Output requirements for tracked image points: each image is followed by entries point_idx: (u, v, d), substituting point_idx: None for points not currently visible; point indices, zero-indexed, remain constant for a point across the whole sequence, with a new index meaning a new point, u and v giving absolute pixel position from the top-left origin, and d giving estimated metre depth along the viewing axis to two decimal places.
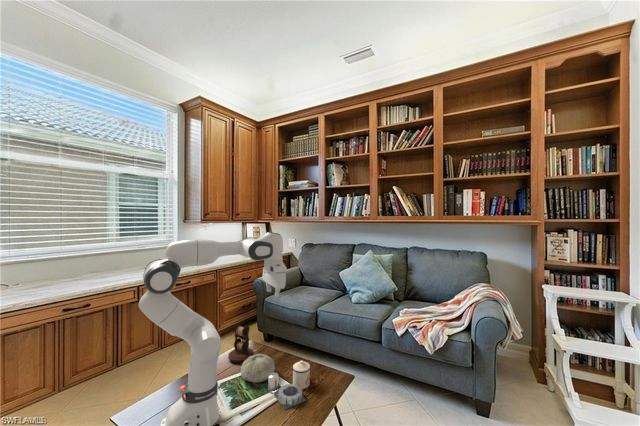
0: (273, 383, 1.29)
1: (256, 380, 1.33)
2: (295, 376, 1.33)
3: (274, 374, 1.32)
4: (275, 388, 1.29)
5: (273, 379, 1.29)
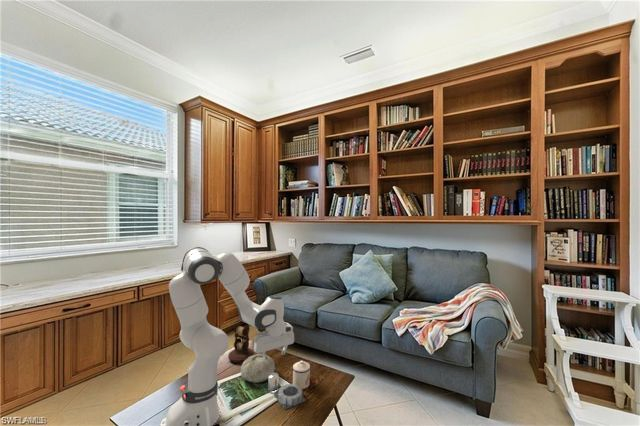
0: (273, 383, 1.29)
1: (256, 380, 1.33)
2: (295, 376, 1.33)
3: (274, 374, 1.32)
4: (275, 388, 1.29)
5: (273, 379, 1.29)
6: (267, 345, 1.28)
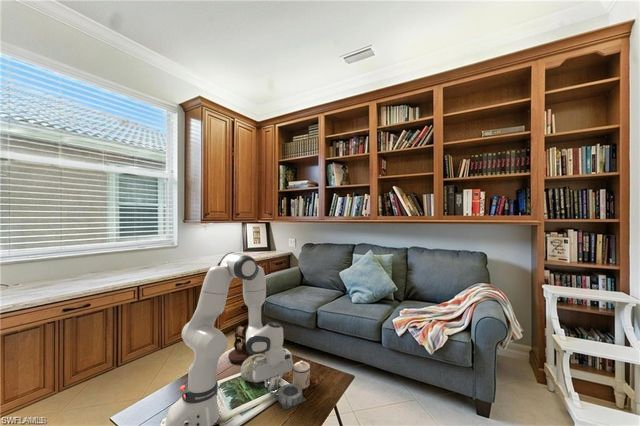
0: (273, 383, 1.29)
1: None
2: (295, 376, 1.33)
3: None
4: (275, 388, 1.29)
5: (273, 379, 1.29)
6: (266, 373, 1.27)
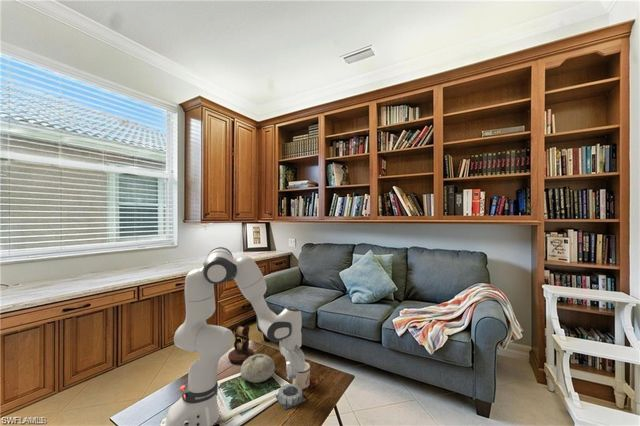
0: None
1: (256, 380, 1.33)
2: None
3: None
4: None
5: None
6: None
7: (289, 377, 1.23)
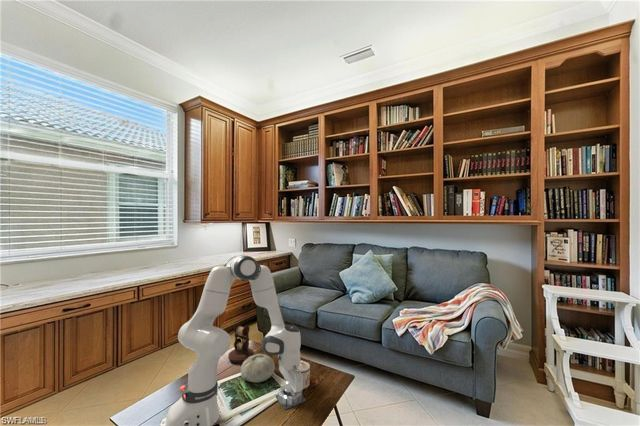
0: None
1: (256, 380, 1.33)
2: None
3: None
4: None
5: None
6: None
7: None
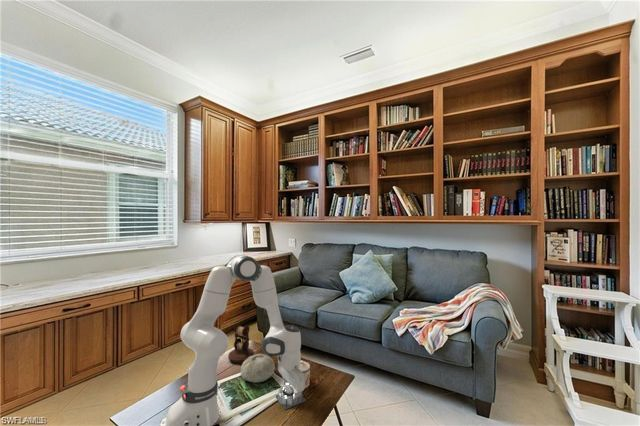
0: None
1: (256, 380, 1.33)
2: None
3: None
4: None
5: None
6: None
7: None
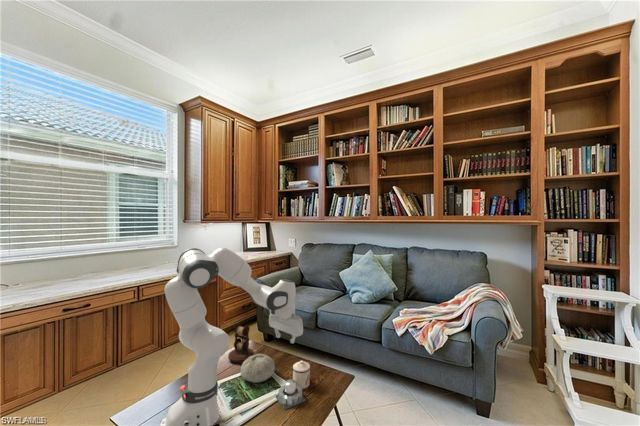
0: (295, 387, 1.26)
1: (256, 380, 1.33)
2: (295, 376, 1.33)
3: (288, 382, 1.25)
4: None
5: (295, 383, 1.26)
6: None
7: None
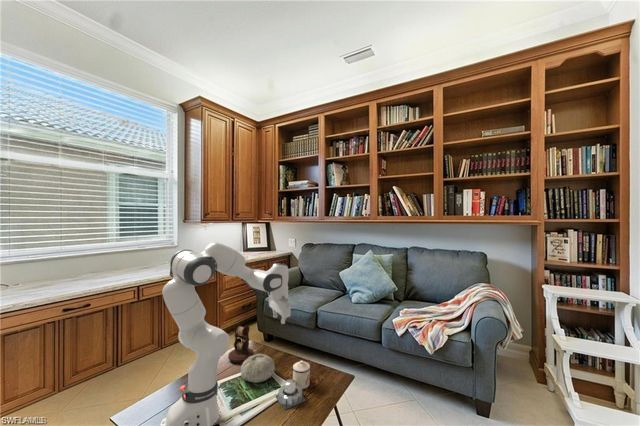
0: None
1: (256, 380, 1.33)
2: (295, 376, 1.33)
3: (288, 382, 1.26)
4: None
5: None
6: None
7: None
